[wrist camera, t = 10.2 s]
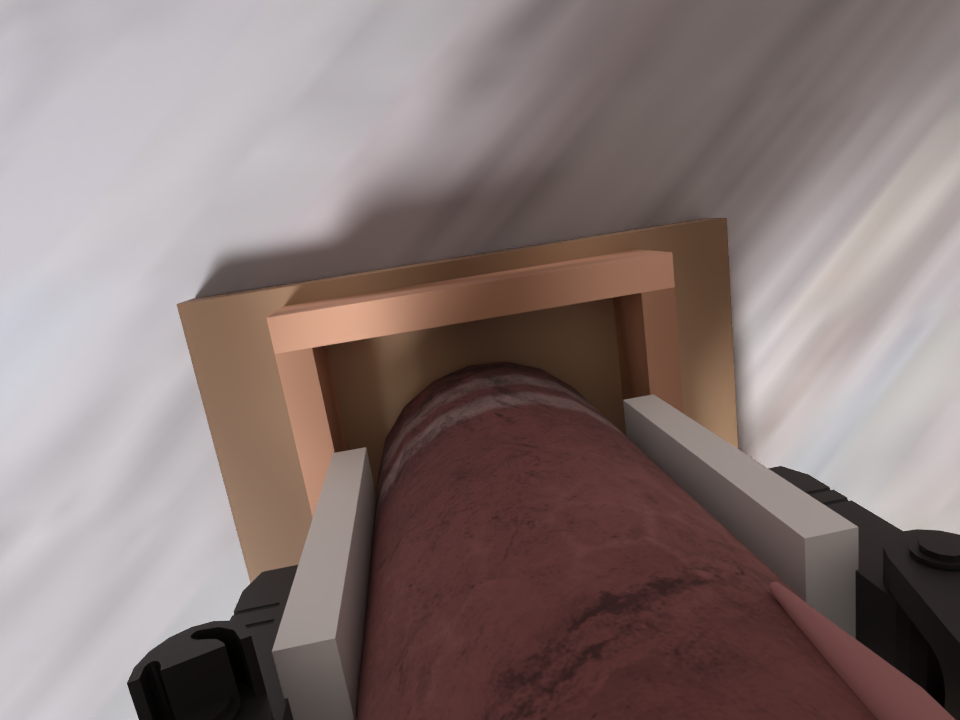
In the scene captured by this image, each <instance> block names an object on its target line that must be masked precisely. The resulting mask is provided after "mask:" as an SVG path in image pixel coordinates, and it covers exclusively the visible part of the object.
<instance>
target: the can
mask: <svg viewBox="0 0 960 720" xmlns="http://www.w3.org/2000/svg"><path fill="white" fill-rule="evenodd" d="M355 720H956V719H954V718H953V717H952V716H951V715H950V714H949V713H948V712H947V711H946V710H945V709H944V708H943V707H942V706H941V705H940V704H939V703H938V702H937V701H936V700H935V699H934V698H933V697H931V696H930V695H929V694H928V693H927V692H926V691H925V690H924V689H923V688H922V687H921V686H919V685H918V684H916V683H915V682H914V681H912V680H911V679H910V678H908V677H907V676H906V675H904V674H903V673H901V672H900V671H899V670H897V669H896V668H895V667H893V666H892V665H890V664H889V663H888V662H886V661H885V660H884V659H882V658H881V657H880V656H878V655H877V654H875V653H874V652H873V651H871V650H870V649H869V648H867V647H866V646H865V645H863V644H862V643H860V642H859V641H858V640H856V639H855V638H854V637H852V636H851V635H850V634H848V633H847V632H845V631H844V630H843V629H841V628H840V627H839V626H837V625H836V624H834V623H833V622H832V621H830V620H829V619H828V618H826V617H825V616H824V615H822V614H821V613H819V612H818V611H817V610H815V609H814V608H813V607H811V606H810V605H809V604H807V603H806V602H805V601H804V600H803V599H802V598H801V597H800V596H799V595H797V594H796V593H795V592H794V591H793V590H792V589H791V588H790V587H789V586H788V585H787V584H786V583H784V582H783V581H782V580H781V579H780V578H779V577H778V576H777V575H776V574H775V573H774V572H773V571H771V570H770V569H769V568H768V567H767V566H766V565H765V564H764V563H763V562H762V561H761V560H760V559H758V558H757V557H756V556H755V555H754V554H753V553H752V552H751V551H750V550H749V549H748V548H747V547H745V546H744V545H743V544H742V543H741V542H740V541H739V540H738V539H737V538H736V537H735V536H734V535H732V534H731V533H730V532H729V531H728V530H727V529H726V528H725V527H724V526H723V525H722V524H721V523H719V522H718V521H717V520H716V519H715V518H714V517H713V516H712V515H711V514H710V513H709V512H708V511H706V510H705V509H704V508H703V507H702V506H701V505H700V504H699V503H698V502H697V501H696V500H695V499H694V498H692V497H691V496H690V495H689V494H688V493H687V492H686V491H685V490H684V489H683V488H682V487H681V486H679V485H678V484H677V483H676V482H675V481H674V480H673V479H672V478H671V477H670V476H669V475H668V474H666V473H665V472H664V471H663V470H662V469H661V468H660V467H659V466H658V465H657V464H656V463H655V462H653V461H652V460H651V459H650V458H649V457H648V456H647V455H646V454H645V453H644V452H643V451H642V450H640V449H639V448H638V447H637V446H636V445H635V444H634V443H633V442H632V441H631V440H630V439H629V438H627V437H626V436H625V435H624V434H623V433H622V432H621V431H620V430H619V429H618V428H617V427H616V426H614V425H613V424H612V423H611V422H610V421H609V420H608V419H607V418H606V417H605V416H604V415H603V414H601V413H600V412H599V411H598V410H597V409H596V408H595V407H594V406H593V405H592V404H591V403H590V402H588V401H587V400H586V399H585V398H584V397H583V396H582V395H581V394H580V393H579V392H578V391H577V390H575V389H574V388H573V387H572V386H570V385H568V384H567V383H565V382H563V381H562V380H560V379H558V378H556V377H555V376H553V375H551V374H550V373H548V372H546V371H545V370H543V369H539V368H534V367H529V366H525V365H520V364H515V363H510V362H499V363H489V364H480V365H471V366H467V367H465V368H462V369H460V370H458V371H455V372H453V373H451V374H449V375H446V376H444V377H442V378H439V379H437V380H435V381H433V382H432V383H431V384H430V385H428V386H427V387H426V388H425V389H424V390H423V391H422V392H420V393H419V394H418V395H417V396H416V397H415V398H414V399H412V400H411V401H410V402H409V403H408V404H407V405H405V407H404V408H403V410H402V412H401V413H400V415H399V417H398V418H397V420H396V422H395V423H394V425H393V427H392V428H391V430H390V432H389V433H388V435H387V437H386V439H385V444H384V448H383V453H382V457H381V462H380V467H379V471H378V480H377V490H376V505H375V516H374V527H373V537H372V548H371V559H370V569H369V580H368V591H367V601H366V612H365V622H364V633H363V644H362V654H361V665H360V676H359V686H358V697H357V708H356V718H355Z"/></svg>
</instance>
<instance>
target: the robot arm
mask: <svg viewBox="0 0 960 720" xmlns="http://www.w3.org/2000/svg"><path fill="white" fill-rule="evenodd" d="M623 405H624V415H625V426H626V436H627V438H629V439H630V440H631V441H632V442H633V443H634V444H635V445H636V446H637V447H638V448H639V449H640V450H642V451H643V452H644V453H645V454H646V455H647V456H648V457H649V458H650V459H651V460H652V461H653V462H655V463H656V464H657V465H658V466H659V467H660V468H661V469H662V470H663V471H664V472H665V473H666V474H668V475H669V476H670V477H671V478H672V479H673V480H674V481H675V482H676V483H677V484H678V485H679V486H681V487H682V488H683V489H684V490H685V491H686V492H687V493H688V494H689V495H690V496H691V497H692V498H694V499H695V500H696V501H697V502H698V503H699V504H700V505H701V506H702V507H703V508H704V509H705V510H706V511H708V512H709V513H710V514H711V515H712V516H713V517H714V518H715V519H716V520H717V521H718V522H719V523H721V524H722V525H723V526H724V527H725V528H726V529H727V530H728V531H729V532H730V533H731V534H732V535H734V536H735V537H736V538H737V539H738V540H739V541H740V542H741V543H742V544H743V545H744V546H745V547H747V548H748V549H749V550H750V551H751V552H752V553H753V554H754V555H755V556H756V557H757V558H758V559H760V560H761V561H762V562H763V563H764V564H765V565H766V566H767V567H768V568H769V569H770V570H771V571H773V572H774V573H775V574H776V575H777V576H778V577H779V578H780V579H781V580H782V581H783V582H784V583H786V584H787V585H788V586H789V587H790V588H791V589H792V590H793V591H794V592H795V593H796V594H797V595H799V596H800V597H801V598H802V599H803V600H804V601H805V602H806V603H807V604H809V605H810V606H811V607H813V608H814V609H815V610H817V611H818V612H819V613H821V614H822V615H824V616H825V617H826V618H828V619H829V620H830V621H832V622H833V623H834V624H836V625H837V626H839V627H840V628H841V629H843V630H844V631H845V632H847V633H848V634H850V635H851V636H852V637H854V638H855V639H856V640H858V641H859V642H860V643H862V644H863V645H865V646H866V647H867V648H869V649H870V650H871V651H873V652H874V653H875V654H877V655H878V656H880V657H881V658H882V659H884V660H885V661H886V662H888V663H889V664H890V665H892V666H893V667H895V668H896V669H897V670H899V671H900V672H901V673H903V674H904V675H906V676H907V677H908V678H910V679H911V680H912V681H914V682H915V683H916V684H918V685H919V686H921V687H922V688H923V689H924V690H925V691H926V692H927V693H928V694H929V695H930V696H931V697H933V698H934V699H935V700H936V701H937V702H938V703H939V704H940V705H941V706H942V707H943V708H944V709H945V710H946V711H947V712H948V713H949V714H950V715H951V716H952V717H953V718H954V719H956V720H960V535H958V534H953V533H948V532H944V531H937V530H918V529H917V530H910V531H902V530H900V529H898V528H897V527H895V526H893V525H892V524H890V523H888V522H887V521H885V520H883V519H882V518H880V517H878V516H877V515H875V514H873V513H872V512H870V511H868V510H867V509H865V508H863V507H862V506H860V505H858V504H857V503H855V502H853V501H848V500H847V498H846V497H845V496H843V495H841V494H840V493H838V492H836V491H835V490H830V487H828V486H826V485H825V484H823V483H821V482H820V481H818V480H816V479H815V478H813V477H811V476H810V475H808V474H804V473H801V472H798V471H795V470H792V469H788V468H785V467H782V466H779V467H774V468H769V469H768V468H767V467H765V466H764V465H762V464H760V463H759V462H757V461H756V460H754V459H753V458H751V457H750V456H748V455H747V454H745V453H743V452H742V451H740V450H739V449H737V448H736V447H734V446H733V445H731V444H730V443H728V442H726V441H725V440H723V439H722V438H720V437H719V436H717V435H716V434H714V433H713V432H711V431H709V430H708V429H706V428H705V427H703V426H702V425H700V424H699V423H697V422H696V421H694V420H693V419H691V418H689V417H688V416H686V415H685V414H683V413H682V412H680V411H679V410H677V409H676V408H674V407H672V406H671V405H669V404H668V403H666V402H665V401H663V400H662V399H660V398H659V397H657V396H655V395H654V394H652V395H647V396H641V397H636V398H630V399H625V400H623ZM375 505H376V493H375V488H374V483H373V478H372V473H371V468H370V463H369V458H368V453H367V448H366V447H364V448H358V449H353V450H348V451H342V452H337V453H333V454H332V457H331V461H330V464H329V467H328V470H327V474H326V477H325V480H324V483H323V487H322V490H321V493H320V496H319V500H318V503H317V506H316V509H315V513H314V516H313V519H312V522H311V526H310V529H309V532H308V535H307V539H306V542H305V545H304V548H303V552H302V555H301V558H300V561H299V565H294V566H289V567H284V568H279V569H274V570H269V571H264V572H261V574H260V575H259V576H258V577H257V578H256V579H255V580H254V581H253V582H252V583H251V584H250V585H249V586H248V587H247V588H246V589H245V590H244V591H243V592H242V594H241V596H240V599H239V601H238V603H237V606H236V608H235V610H234V615H233V616H232V617H231V619H230V621H213V622H209V623H205V624H202V625H198V626H194V627H191V628H189V629H187V630H185V631H183V632H180V633H178V634H176V635H174V636H172V637H170V638H168V639H167V640H165V641H164V642H163V643H161V644H160V645H158V646H157V647H155V648H154V649H152V650H151V651H150V652H149V653H148V654H147V655H146V656H145V657H144V658H143V659H142V660H141V661H140V662H139V663H138V664H137V665H136V666H135V667H134V669H133V672H132V674H131V676H130V678H129V680H128V682H127V685H128V688H129V691H130V694H131V697H132V700H133V703H134V706H135V709H136V712H137V715H138V718H139V720H355V718H356V708H357V697H358V686H359V676H360V665H361V654H362V644H363V633H364V622H365V612H366V601H367V591H368V580H369V569H370V559H371V548H372V537H373V527H374V516H375Z"/></svg>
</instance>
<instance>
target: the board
mask: <svg viewBox="0 0 960 720" xmlns="http://www.w3.org/2000/svg"><path fill="white" fill-rule="evenodd" d="M177 307H178V311H179V315H180V319H181V322H182V326H183V330H184V334H185V337H186V341H187V345H188V349H189V352H190V356H191V360H192V364H193V368H194V371H195V375H196V379H197V383H198V386H199V390H200V394H201V398H202V401H203V405H204V409H205V413H206V417H207V420H208V424H209V428H210V432H211V435H212V439H213V443H214V447H215V450H216V454H217V458H218V462H219V466H220V469H221V473H222V477H223V481H224V484H225V488H226V492H227V496H228V499H229V503H230V507H231V511H232V515H233V518H234V522H235V526H236V530H237V533H238V537H239V541H240V545H241V548H242V552H243V556H244V560H245V564H246V567H247V571H248V575H249V579H250V582H251V583H252V582H253V581H254V580H255V579H256V578H257V577H258V576H259V575H260V574H261V572H264V571H269V570H274V569H279V568H284V567H289V566H294V565H299V561H300V558H301V555H302V552H303V548H304V545H305V542H306V539H307V535H308V532H309V529H310V526H311V522H312V519H313V516H314V513H315V509H316V506H317V503H318V500H319V496H320V493H321V490H322V487H323V483H324V480H325V477H326V474H327V470H328V467H329V464H330V461H331V457H332V454H333V453H337V452H342V451H348V450H353V449H358V448H364V447H366V448H367V453H368V458H369V463H370V468H371V473H372V478H373V483H374V488H375V493H376V490H377V480H378V471H379V467H380V462H381V457H382V453H383V448H384V444H385V439H386V437H387V435H388V433H389V432H390V430H391V428H392V427H393V425H394V423H395V422H396V420H397V418H398V417H399V415H400V413H401V412H402V410H403V408H404V407H405V405H407V404H408V403H409V402H410V401H411V400H412V399H414V398H415V397H416V396H417V395H418V394H419V393H420V392H422V391H423V390H424V389H425V388H426V387H427V386H428V385H430V384H431V383H432V382H433V381H435V380H437V379H439V378H442V377H444V376H446V375H449V374H451V373H453V372H455V371H458V370H460V369H462V368H465V367H467V366H471V365H480V364H489V363H499V362H510V363H515V364H520V365H525V366H529V367H534V368H539V369H543V370H545V371H546V372H548V373H550V374H551V375H553V376H555V377H556V378H558V379H560V380H562V381H563V382H565V383H567V384H568V385H570V386H572V387H573V388H574V389H575V390H577V391H578V392H579V393H580V394H581V395H582V396H583V397H584V398H585V399H586V400H587V401H588V402H590V403H591V404H592V405H593V406H594V407H595V408H596V409H597V410H598V411H599V412H600V413H601V414H603V415H604V416H605V417H606V418H607V419H608V420H609V421H610V422H611V423H612V424H613V425H614V426H616V427H617V428H618V429H619V430H620V431H621V432H622V433H623V434H624V435H625V436H626V426H625V415H624V405H623V400H625V399H630V398H636V397H641V396H647V395H652V394H654V395H655V396H657V397H659V398H660V399H662V400H663V401H665V402H666V403H668V404H669V405H671V406H672V407H674V408H676V409H677V410H679V411H680V412H682V413H683V414H685V415H686V416H688V417H689V418H691V419H693V420H694V421H696V422H697V423H699V424H700V425H702V426H703V427H705V428H706V429H708V430H709V431H711V432H713V433H714V434H716V435H717V436H719V437H720V438H722V439H723V440H725V441H726V442H728V443H730V444H731V445H733V446H734V447H736V448H737V449H738V436H737V416H736V396H735V376H734V356H733V336H732V316H731V296H730V277H729V257H728V237H727V218H711V219H699V220H693V221H687V222H680V223H674V224H667V225H661V226H655V227H648V228H642V229H635V230H629V231H623V232H616V233H610V234H604V235H597V236H591V237H584V238H578V239H572V240H565V241H559V242H552V243H546V244H540V245H533V246H527V247H521V248H514V249H508V250H501V251H495V252H489V253H482V254H476V255H469V256H463V257H457V258H450V259H444V260H437V261H431V262H425V263H418V264H412V265H406V266H399V267H393V268H386V269H380V270H374V271H367V272H361V273H354V274H348V275H342V276H335V277H329V278H323V279H316V280H310V281H303V282H297V283H291V284H284V285H278V286H271V287H265V288H259V289H252V290H246V291H239V292H233V293H227V294H220V295H214V296H208V297H201V298H195V299H191V300H188V301H185V302H182V303H179V304H177ZM626 437H627V436H626Z"/></svg>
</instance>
